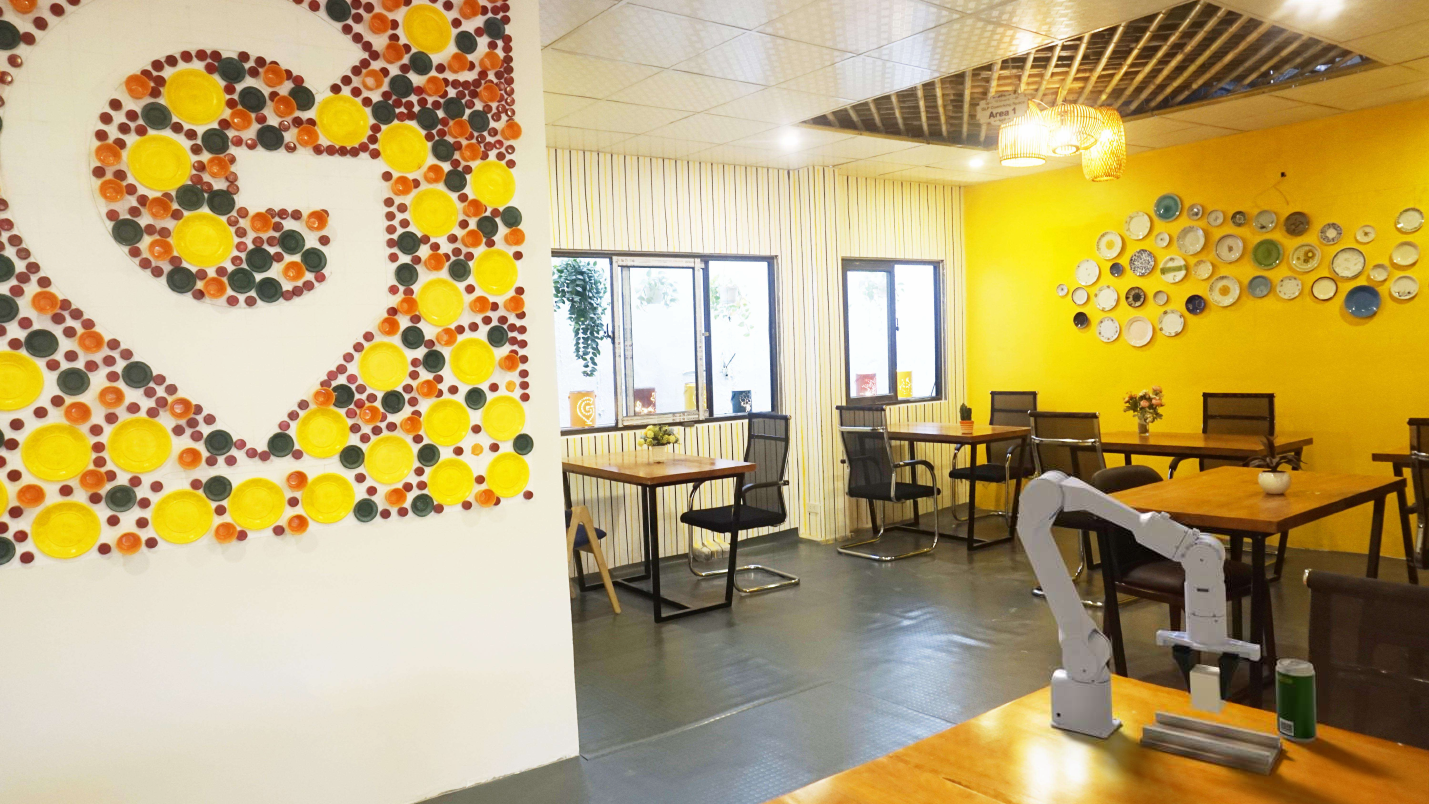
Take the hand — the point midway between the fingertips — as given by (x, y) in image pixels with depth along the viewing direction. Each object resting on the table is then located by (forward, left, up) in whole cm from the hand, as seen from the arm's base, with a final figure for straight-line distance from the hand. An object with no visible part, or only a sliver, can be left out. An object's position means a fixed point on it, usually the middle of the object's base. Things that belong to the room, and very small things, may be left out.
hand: (1208, 695), depth 143 cm
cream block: (0, 0, -2) cm, 2 cm away
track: (0, 0, -8) cm, 8 cm away
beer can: (+10, +11, -9) cm, 18 cm away
